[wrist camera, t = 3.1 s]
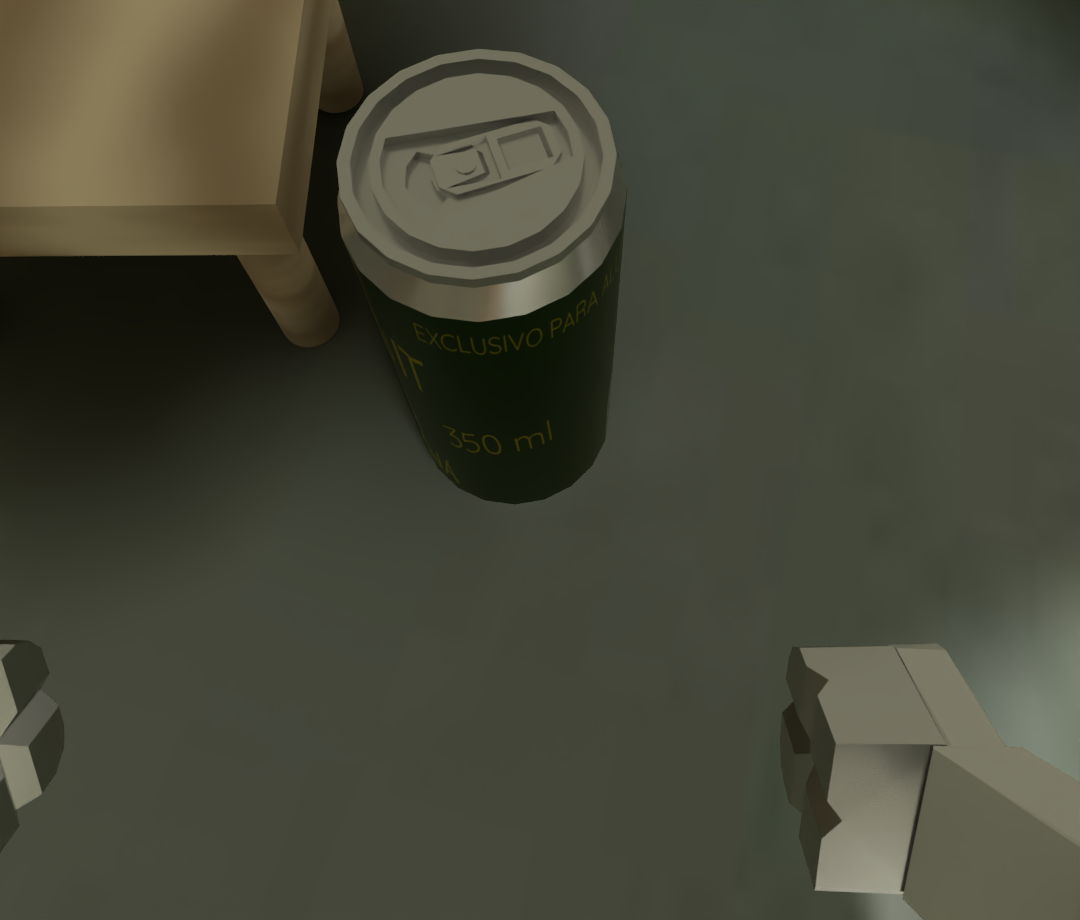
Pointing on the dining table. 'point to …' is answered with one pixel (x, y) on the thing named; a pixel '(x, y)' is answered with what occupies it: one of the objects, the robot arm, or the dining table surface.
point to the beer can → (491, 262)
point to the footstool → (173, 135)
